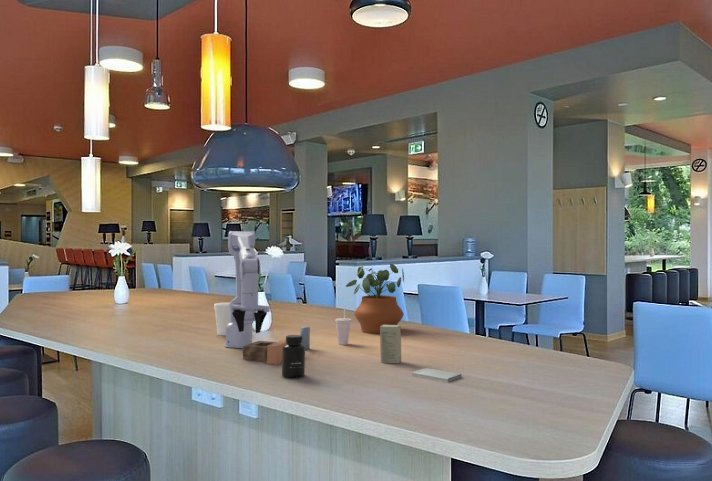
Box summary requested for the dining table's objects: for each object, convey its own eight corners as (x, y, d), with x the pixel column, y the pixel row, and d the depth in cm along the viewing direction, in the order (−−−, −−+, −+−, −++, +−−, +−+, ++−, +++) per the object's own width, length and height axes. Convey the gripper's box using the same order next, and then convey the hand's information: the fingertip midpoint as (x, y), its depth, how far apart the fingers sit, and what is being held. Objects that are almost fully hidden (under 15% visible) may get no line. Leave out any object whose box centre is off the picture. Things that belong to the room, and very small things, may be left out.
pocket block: (242, 359, 192) (242, 346, 192) (258, 353, 202) (258, 340, 202) (272, 361, 188) (272, 348, 188) (286, 355, 199) (286, 342, 199)
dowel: (298, 349, 210) (298, 327, 210) (302, 347, 213) (302, 326, 213) (307, 350, 209) (307, 328, 209) (311, 348, 212) (311, 326, 212)
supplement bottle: (295, 380, 164) (295, 338, 164) (277, 377, 168) (277, 336, 168) (309, 375, 170) (309, 335, 170) (291, 372, 174) (291, 333, 174)
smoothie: (349, 345, 218) (349, 309, 218) (333, 345, 219) (333, 308, 219) (352, 343, 224) (353, 307, 224) (336, 342, 225) (337, 307, 225)
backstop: (267, 364, 185) (267, 345, 185) (290, 353, 202) (291, 336, 202) (275, 364, 184) (275, 346, 184) (298, 354, 201) (298, 337, 201)
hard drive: (461, 373, 169) (426, 367, 177) (447, 378, 163) (411, 371, 171) (461, 379, 169) (426, 372, 177) (447, 384, 163) (411, 377, 171)
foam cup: (241, 333, 244) (241, 303, 244) (225, 336, 236) (225, 305, 236) (225, 331, 249) (225, 302, 249) (209, 334, 241) (209, 304, 241)
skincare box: (401, 361, 190) (401, 325, 190) (398, 364, 186) (398, 326, 186) (383, 360, 192) (383, 323, 192) (379, 362, 188) (379, 325, 188)
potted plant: (385, 336, 238) (385, 265, 238) (333, 330, 255) (333, 263, 255) (413, 330, 257) (413, 263, 257) (362, 324, 274) (363, 262, 274)
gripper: (225, 293, 196) (225, 332, 196) (262, 294, 191) (262, 335, 191) (236, 291, 203) (235, 329, 203) (272, 292, 198) (272, 331, 198)
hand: (249, 332), depth 197 cm, fingers open, 6 cm apart
